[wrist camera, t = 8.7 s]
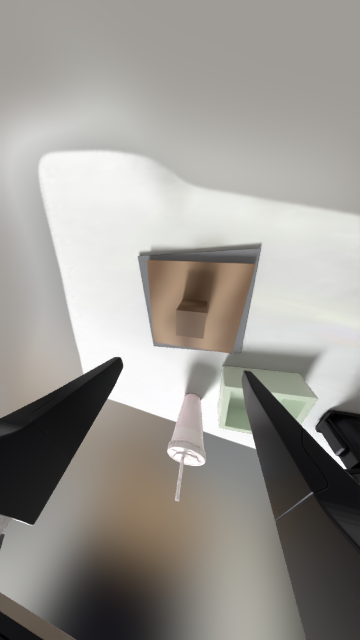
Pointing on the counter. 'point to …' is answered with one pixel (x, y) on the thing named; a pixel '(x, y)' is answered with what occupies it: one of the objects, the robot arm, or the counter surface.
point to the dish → (280, 384)
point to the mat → (212, 256)
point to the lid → (198, 302)
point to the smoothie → (188, 437)
